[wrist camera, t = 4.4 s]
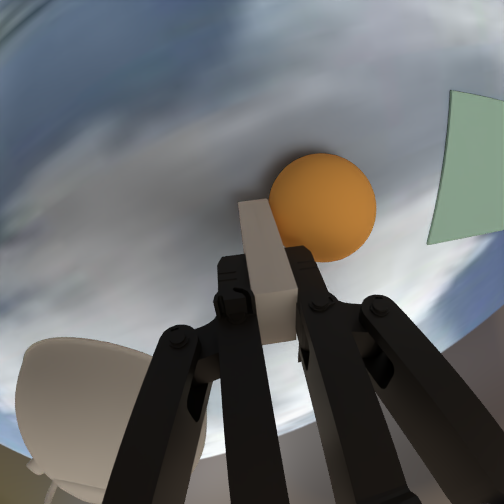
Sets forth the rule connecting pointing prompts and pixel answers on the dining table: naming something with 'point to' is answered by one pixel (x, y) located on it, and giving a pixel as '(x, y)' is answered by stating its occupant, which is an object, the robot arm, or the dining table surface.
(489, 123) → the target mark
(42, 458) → the kettle
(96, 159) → the dining table surface
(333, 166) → the ball
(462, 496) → the robot arm
